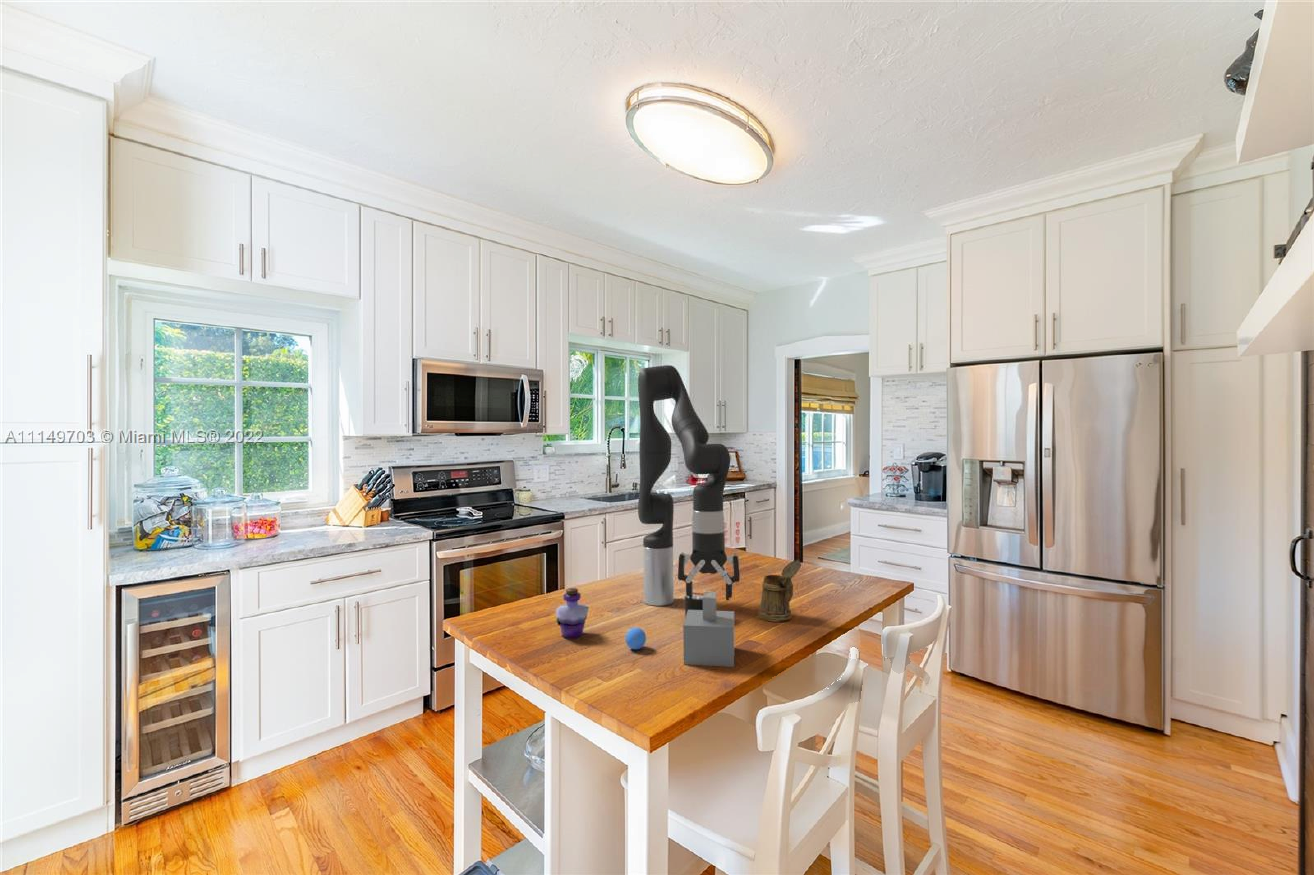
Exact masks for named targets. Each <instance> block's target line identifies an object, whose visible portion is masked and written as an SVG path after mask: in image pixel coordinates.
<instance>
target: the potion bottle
mask: <svg viewBox="0 0 1314 875" xmlns="http://www.w3.org/2000/svg"><path fill="white" fill-rule="evenodd" d="M581 596H582V595H581V592H579V589H578V588H576V587H569V588H567V589H566V590H565V593H564V594H563V601H565V602H566V604H564V605H559V606H558V607H557V608H556V609H555V615H556V623H557V625H558V626H559V627H560V632H561V637H563V639H566V640H575V639H579V638H583V635H584V630H585V629H584V628H585V624H586V620H587V619H588V613H589V608H590V607H589V606H587V605H586V604H583V603H579V601H580V600H581Z"/></svg>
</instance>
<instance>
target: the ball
mask: <svg viewBox="0 0 1314 875" xmlns="http://www.w3.org/2000/svg"><path fill="white" fill-rule="evenodd" d="M624 638H625V643H626V646H628V647H629V648H630V649H632V650H639V649H642V648H643V647H644V646H645V645H646V641H647V636H646V632H645V631H644V630H643V629H642V628H640V627H631V628H630V629H628V631H627V632H626V634H625V637H624Z"/></svg>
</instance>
